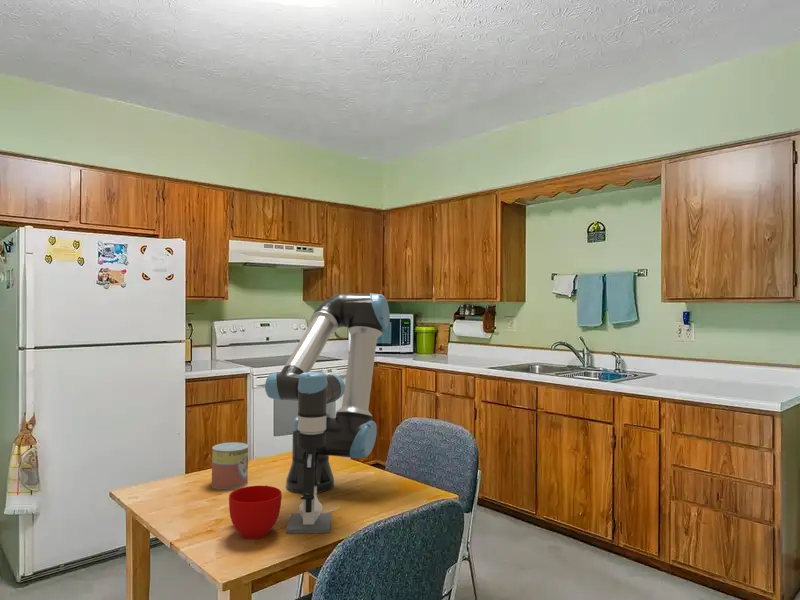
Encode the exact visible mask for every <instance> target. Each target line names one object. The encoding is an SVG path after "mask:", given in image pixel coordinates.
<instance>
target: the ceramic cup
mask: <svg viewBox="0 0 800 600" xmlns="http://www.w3.org/2000/svg"><path fill="white" fill-rule="evenodd" d="M281 504H282V491H281V490H280V489H279V488H277V487H275V486H270V485H250V486H243V487H240V488H236V489H234V490H233V491H232V492H230V493H229V495H228V507H229V508H228V509H229V517H230V520H231V524H232V525H233V527H234V528H235V530H236V531H237V532H238V533H239V534H240V536H241V537H242V538H244V539H251V540H252V539H260V538H263V537H266V536H267V535H268V534H269V532H270V531H271V530H272V529H273V527H274V526H275V524H276V522H277V521H278V519H279V514H280V511H281V506H282V505H281Z"/></svg>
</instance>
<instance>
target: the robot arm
mask: <svg viewBox="0 0 800 600" xmlns="http://www.w3.org/2000/svg"><path fill="white" fill-rule="evenodd" d="M390 314H391V313H390V307H389V303H388V301H387V299H386V297H385V295H384V294H380V293H373V292H370V293H339V294H338V293H337V294H335V295H333V296H331V297H329V298H327V299H326V300H324V301H323V302H322V303H320V305H318V306H317V307H316V309H315V310H314V312H313V313H312V315H311V317H310V324H309V326H308V327H307V329H306V330H305V332H304V333H303V336H302V337H301V339H300V340H299V342H298V344H297V345H296V347H295V349H294V350H293V352H292V353H291V355H290V356H289V358H288V360H287V362H286V363H285V365H284V366H283V368H282V369H281V371H280V372H273V373H270V374H269V375H268V376H267V377H266V380H265V383H264V384H265V385H264V391H265V394H266V396H267V397H268V398H270V399H273V400H279V401H282V400H283V401H297V402H298V403H297V416H296V417H294V419H293V424H292V431H291V432H292V448H291V449H292V450H291V451H292V454H291V455H292V459H291V465H290V467H289V470H288V473H287V476H286V480H285V481H286V482H285V483H286V485H285V487H286V490H288V491H289V492H290V491H291V492H294V493H297V494H298V493H300V494H303V495H302V496H300V500H303V501H304V504H303V524H314V495H316V496H317V497H318V495H317V494H318V493H323V492H326V491H329V490H330V489H332V488H333V487H334V485H335V482H334V481H335V480H334V479H335V478H334V474H333V471H332V467H331V464H330V460H329V459H330V458H329V457H330V456H333V457H342V458H350V459H365V458H367V457H368V456H369V455H370V454H371V452H372V450H373V449H374V447H375V444H376V439H377V433H378V431H377V430H378V429H377V428H378V425H377V423H376V422H375V421H374V420H373V415H372V413H371V412H370V411H369V408H370V407H369V406H370V399H371V398H370V397H371V391H372V390H371V389H372V382H373V373H374V366H375V358H376V349H377V341H378V339H379V338H380V337H382V336H383V330H385V329H388V327H389V325H390V319H391V318H390V317H391V316H390ZM339 328H347V331H348V333H349V334H350V336H351V338H350V344H349V352H348V359H347V366H346V373H345V382H344V380H343V378H342V377H341V376H339V375H337V374H326V373H325V372H321V371H320V372H319V371H312V369H313V367H314V365H315V364H316V361H318V358H319V357H320V356H321V353H322V351H323V349H324V347H325V345H326V344H327V342H328V341H329V339H330V337H331V335H333V334H335V333H336V332H337V330H338V329H339ZM341 398H342V404H341V407H340V408H339V409H338V410H337V411H336V413H335V417H331V414H330V413H329V412H328V411H327V406H328V405H327V404H330V403H334V402H336V401H338V400H339V399H341Z"/></svg>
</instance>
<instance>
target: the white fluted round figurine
mask: <svg viewBox="0 0 800 600" xmlns="http://www.w3.org/2000/svg"><path fill="white" fill-rule="evenodd" d="M303 504H304V500H303V501H302V502H301V503H300V504H299V506H298V510H299V513H300V514H301V516H302V518H303ZM322 510H323V505H322V504H321V502H320V501H319V499H318V495H317V496H316V495H314V522H316V520H317V519H318V517H319V515H320V513H322Z"/></svg>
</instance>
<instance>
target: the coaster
mask: <svg viewBox="0 0 800 600" xmlns="http://www.w3.org/2000/svg"><path fill="white" fill-rule="evenodd" d="M332 515H333V513H332V512H321V513H320V515H319V517H318V519H317V520H316V522H314V524H303V518H302V516H301V514H300V512H292V513H290V515H289V519H288V523H287V526H286V530H285V533H286V534H289V535H290V534H330V533H331V527H330V526H331V524H332Z"/></svg>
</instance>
